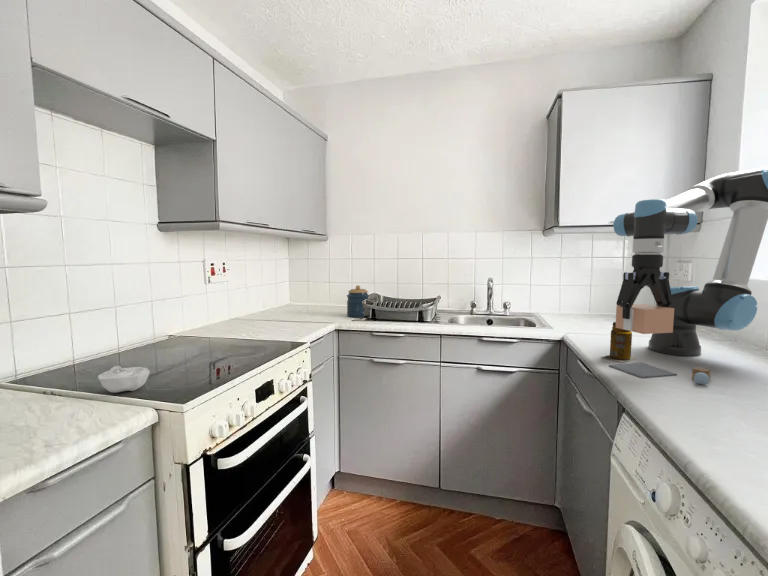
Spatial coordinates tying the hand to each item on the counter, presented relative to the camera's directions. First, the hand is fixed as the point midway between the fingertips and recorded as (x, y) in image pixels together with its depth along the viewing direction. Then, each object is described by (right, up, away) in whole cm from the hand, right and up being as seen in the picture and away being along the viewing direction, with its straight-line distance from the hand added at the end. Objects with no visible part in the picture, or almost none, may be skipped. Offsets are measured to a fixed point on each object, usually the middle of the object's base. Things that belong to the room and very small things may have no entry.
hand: (643, 329), depth 115 cm
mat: (0, -12, +1) cm, 13 cm away
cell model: (-145, -15, -13) cm, 146 cm away
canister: (-92, -4, +107) cm, 141 cm away
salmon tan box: (0, 0, 0) cm, 0 cm away
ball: (+8, -12, -11) cm, 18 cm away
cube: (+11, -13, -7) cm, 19 cm away
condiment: (+1, -12, +15) cm, 19 cm away
